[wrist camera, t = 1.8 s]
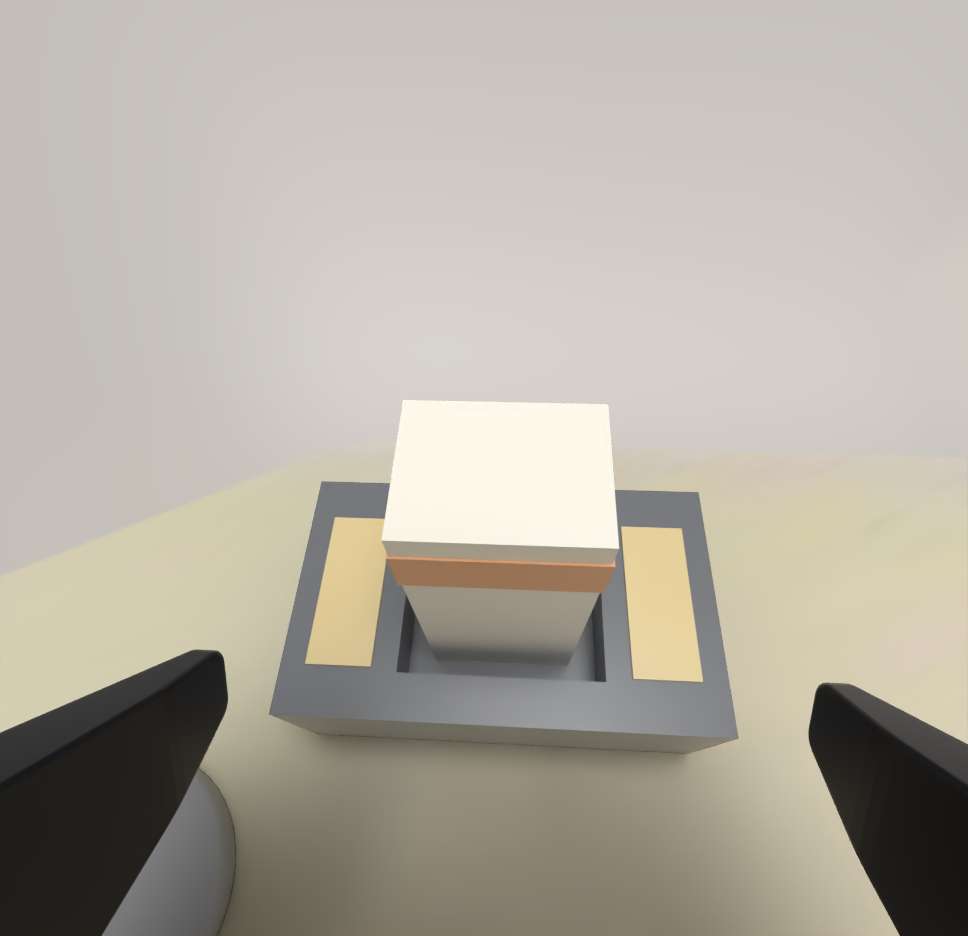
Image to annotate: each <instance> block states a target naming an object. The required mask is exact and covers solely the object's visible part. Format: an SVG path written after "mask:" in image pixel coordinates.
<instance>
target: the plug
mask: <svg viewBox="0 0 968 936" xmlns="http://www.w3.org/2000/svg"><path fill="white" fill-rule="evenodd" d="M381 541H382V543H383V545H384V547H385V550H386V558H385V559H386V561H387V563H388V565H389V567H390V569H391V571H392V573H393V576H394V578H395V580H396V582H397V584H398V585H402V586H403V589H404V591H405V593H406V595H407V597H408V599H409V602H410V604H411V606H412V608H413V610H414V613H415V615H416V617H417V619H418V621H419V623H420V626H421V628H422V630H423V632H424V634H425V636H426V639H427V641H428V643H429V645H430V647H431V649H432V652H433V654H434V656H435V658H436V660H454V661H476V662H498V663H520V664H542V665H564V666H568V664H569V662H570V660H571V657H572V655H573V653H574V651H575V648H576V646H577V644H578V641H579V639H580V637H581V635H582V632H583V630H584V628H585V625H586V623H587V621H588V619H589V616H590V614H591V612H592V610H593V607H594V605H595V603H596V600H597V598H598V596H599V594H600V593H604V591H605V589H606V587H607V584H608V582H609V580H610V578H611V576H612V573H613V571H614V569H615V557H616V555H617V553H618V550H619V539H618V526H617V513H616V500H615V487H614V474H613V461H612V448H611V435H610V422H609V409H608V405H607V404H565V403H562V404H561V403H515V402H470V401H424V400H403V404H402V411H401V418H400V424H399V430H398V437H397V443H396V449H395V456H394V462H393V469H392V475H391V482H390V488H389V494H388V501H387V507H386V514H385V520H384V527H383V533H382V540H381Z"/></svg>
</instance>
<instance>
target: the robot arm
mask: <svg viewBox="0 0 968 936" xmlns="http://www.w3.org/2000/svg"><path fill="white" fill-rule="evenodd" d="M227 703H228V692H227V683H226V673H225V664H224V658H223V656H222V654H221V653H220V652H219V651H215V650H192V651H189V652H187V653H184V654H182V655H180V656H177V657H175V658H173V659H170V660H168V661H166V662H164V663H161V664H159V665H157V666H154V667H152V668H150V669H147V670H145V671H143V672H140V673H138V674H136V675H133V676H131V677H129V678H126V679H124V680H122V681H119V682H117V683H115V684H112V685H110V686H108V687H105V688H103V689H101V690H98V691H96V692H94V693H91V694H89V695H87V696H84V697H82V698H80V699H78V700H75V701H73V702H71V703H68V704H66V705H64V706H61V707H59V708H57V709H54V710H52V711H50V712H47V713H45V714H43V715H40V716H38V717H36V718H33V719H31V720H29V721H26V722H24V723H22V724H19V725H17V726H15V727H12V728H10V729H8V730H5V731H3V732H1V733H0V936H102V935H103V933H104V931H105V930H106V928H107V927H108V925H109V923H110V922H111V920H112V918H113V917H114V915H115V913H116V912H117V910H118V908H119V907H120V905H121V903H122V902H123V900H124V898H125V897H126V895H127V893H128V892H129V890H130V889H131V887H132V885H133V884H134V882H135V880H136V879H137V877H138V875H139V874H140V872H141V870H142V869H143V867H144V865H145V864H146V862H147V860H148V859H149V857H150V855H151V854H152V852H153V851H154V849H155V847H156V846H157V844H158V842H159V841H160V839H161V837H162V836H163V834H164V832H165V831H166V829H167V827H168V826H169V824H170V822H171V821H172V819H173V817H174V815H175V814H176V812H177V810H178V808H179V807H180V805H181V803H182V801H183V799H184V797H185V795H186V793H187V791H188V789H189V787H190V785H191V783H192V781H193V779H194V777H195V774H196V772H197V770H198V768H199V766H200V764H201V762H202V760H203V758H204V756H205V754H206V752H207V750H208V748H209V745H210V743H211V741H212V739H213V737H214V735H215V733H216V731H217V729H218V727H219V725H220V723H221V721H222V719H223V716H224V714H225V712H226V708H227ZM809 742H810V746H811V749H812V752H813V754H814V757H815V759H816V761H817V764H818V766H819V768H820V771H821V773H822V775H823V778H824V780H825V782H826V785H827V787H828V790H829V792H830V794H831V797H832V799H833V801H834V804H835V806H836V808H837V811H838V813H839V815H840V818H841V820H842V823H843V825H844V827H845V830H846V832H847V834H848V837H849V839H850V841H851V843H852V845H853V848H854V850H855V852H856V854H857V856H858V858H859V860H860V862H861V864H862V866H863V868H864V870H865V872H866V874H867V876H868V877H869V879H870V881H871V883H872V885H873V887H874V889H875V890H876V892H877V894H878V896H879V898H880V900H881V902H882V903H883V905H884V907H885V909H886V911H887V913H888V915H889V916H890V918H891V920H892V922H893V924H894V926H895V928H896V929H897V931H898V933H899V935H900V936H968V744H966V743H964V742H962V741H960V740H958V739H956V738H954V737H952V736H951V735H949V734H947V733H945V732H943V731H941V730H939V729H937V728H935V727H933V726H931V725H929V724H927V723H925V722H923V721H921V720H919V719H918V718H916V717H914V716H912V715H910V714H908V713H906V712H904V711H902V710H900V709H898V708H896V707H894V706H892V705H890V704H888V703H887V702H885V701H883V700H881V699H879V698H877V697H875V696H873V695H871V694H869V693H867V692H865V691H863V690H861V689H859V688H857V687H855V686H853V685H850V684H842V683H822V684H821V685H819V686H818V688H817V690H816V693H815V698H814V704H813V709H812V715H811V720H810V725H809Z"/></svg>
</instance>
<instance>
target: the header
mask: <svg viewBox="0 0 968 936" xmlns="http://www.w3.org/2000/svg"><path fill="white" fill-rule="evenodd" d="M389 488H390V483H357V482H322V483H321V487H320V491H319V496H318V500H317V505H316V509H315V514H314V518H313V522H312V527H311V531H310V536H309V540H308V544H307V549H306V553H305V558H304V562H303V567H302V571H301V575H300V580H299V584H298V589H297V593H296V597H295V602H294V606H293V611H292V615H291V619H290V624H289V628H288V633H287V637H286V642H285V646H284V650H283V655H282V659H281V664H280V668H279V672H278V677H277V681H276V686H275V690H274V694H273V699H272V703H271V708H270V712H269V715H272V716H274V717H277V718H279V719H282V720H284V721H287V722H289V723H292V724H294V725H297V726H299V727H302V728H304V729H307V730H309V731H312V732H314V733H317V734H329V735H348V736H367V737H386V738H405V739H423V740H442V741H461V742H480V743H499V744H518V745H536V746H555V747H574V748H593V749H612V750H631V751H650V752H668V753H687V754H689V753H692V752H695V751H699V750H702V749H705V748H709V747H712V746H715V745H719V744H722V743H725V742H729V741H732V740H735V739H738V733H737V727H736V721H735V715H734V709H733V702H732V696H731V690H730V684H729V678H728V672H727V665H726V659H725V653H724V647H723V641H722V635H721V628H720V622H719V616H718V610H717V604H716V598H715V591H714V585H713V579H712V573H711V567H710V561H709V554H708V548H707V542H706V536H705V530H704V524H703V517H702V511H701V505H700V499H699V493H698V492H667V491H633V490H615V500H616V513H617V526H618V539H619V550H618V553H617V555H616V557H615V569H614V571H613V573H612V576H611V578H610V580H609V582H608V584H607V587H606V589H605V591H604V593H600V594H599V596H598V598H597V600H596V603H595V605H594V607H593V610H592V612H591V614H590V616H589V619H588V621H587V623H586V625H585V628H584V630H583V632H582V635H581V637H580V639H579V641H578V644H577V646H576V648H575V651H574V653H573V655H572V657H571V660H570V662H569V664H568V666H564V665H542V664H520V663H498V662H476V661H454V660H436V658H435V656H434V654H433V652H432V649H431V647H430V645H429V643H428V641H427V639H426V636H425V634H424V632H423V630H422V628H421V626H420V623H419V621H418V619H417V617H416V615H415V613H414V610H413V608H412V606H411V604H410V602H409V599H408V597H407V595H406V593H405V591H404V589H403V586H402V585H398V584H397V582H396V580H395V578H394V576H393V573H392V571H391V569H390V567H389V565H388V563H387V561H386V559H385V558H386V550H385V547H384V545H383V543H382V541H381V540H382V533H383V527H384V520H385V514H386V507H387V501H388V494H389Z"/></svg>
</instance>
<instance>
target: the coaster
mask: <svg viewBox="0 0 968 936" xmlns="http://www.w3.org/2000/svg"><path fill="white" fill-rule="evenodd" d="M235 854H236V846H235V836H234V829H233V824H232V820H231V816H230V813H229V810H228V807H227V805H226V802H225V800H224V798H223V796H222V794H221V793H220V791H219V789H218V788H217V786H216V785H215V784H214V782H213V781H212V780H211V779H210V777H208V776H207V775H206V774H205V773H204V772H203V771H202V770H201V769H200V768H198V770H197V772H196V774H195V777H194V779H193V781H192V783H191V785H190V787H189V789H188V791H187V793H186V795H185V797H184V799H183V801H182V803H181V805H180V807H179V808H178V810H177V812H176V814H175V815H174V817H173V819H172V821H171V822H170V824H169V826H168V827H167V829H166V831H165V832H164V834H163V836H162V837H161V839H160V841H159V842H158V844H157V846H156V847H155V849H154V851H153V852H152V854H151V855H150V857H149V859H148V860H147V862H146V864H145V865H144V867H143V869H142V870H141V872H140V874H139V875H138V877H137V879H136V880H135V882H134V884H133V885H132V887H131V889H130V890H129V892H128V893H127V895H126V897H125V898H124V900H123V902H122V903H121V905H120V907H119V908H118V910H117V912H116V913H115V915H114V917H113V918H112V920H111V922H110V923H109V925H108V927H107V928H106V930H105V931H104V933H103V935H102V936H217V934H218V931H219V929H220V927H221V925H222V922H223V919H224V916H225V913H226V910H227V907H228V904H229V900H230V895H231V891H232V886H233V880H234V872H235Z"/></svg>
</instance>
